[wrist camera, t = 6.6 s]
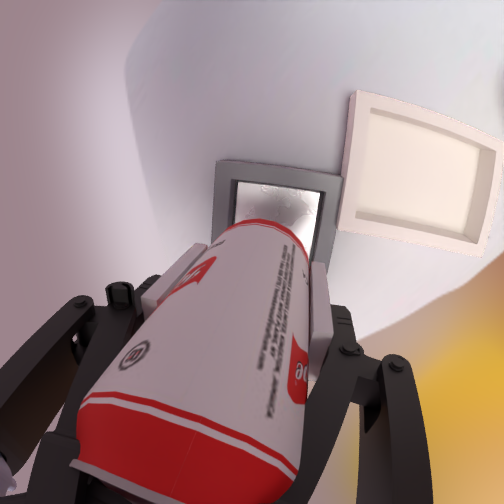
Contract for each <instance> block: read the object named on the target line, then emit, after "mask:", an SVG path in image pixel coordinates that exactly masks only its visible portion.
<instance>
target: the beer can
mask: <svg viewBox="0 0 504 504" xmlns="http://www.w3.org/2000/svg"><path fill="white" fill-rule="evenodd" d="M308 369H309V261H308V255H307V253H306V251H305V248H304V246H303V244H302V242H301V241H300V240H299V238H298V237H297V236H296V235H295V234H294V233H293V232H292V231H291V230H290V229H288V228H286V227H285V226H283V225H281V224H279V223H277V222H275V221H270V220H266V219H261V218H258V219H248V220H243V221H240V222H238V223H236V224H234V225H232V226H230V227H228V228H227V229H226V230H225V231H224V232H223V233H222V234H221V235H220V236H219V237H218V238H217V239H216V240H215V241H214V242H213V243H212V245H211V246H210V247H209V248H208V249H207V250H206V251H205V252H204V254H203V255H202V256H201V257H200V258H199V259H198V260H197V262H196V263H195V264H194V265H193V266H192V267H191V268H190V270H189V271H188V272H187V273H186V274H185V275H184V276H183V278H182V279H181V280H180V281H179V282H178V283H177V284H176V286H175V287H174V288H173V289H172V290H171V291H170V293H169V294H168V295H167V296H166V297H165V299H164V300H163V301H162V302H161V303H160V304H159V306H158V307H157V308H156V309H155V310H154V312H153V313H152V314H151V315H150V316H149V318H148V319H147V320H146V321H145V322H144V324H143V325H142V326H141V327H140V328H139V330H138V331H137V332H136V333H135V334H134V336H133V337H132V338H131V339H130V341H129V342H128V343H127V344H126V345H125V347H124V348H123V349H122V350H121V352H120V353H119V354H118V355H117V357H116V358H115V359H114V360H113V362H112V363H111V364H110V365H109V367H108V368H107V369H106V370H105V372H104V373H103V374H102V375H101V377H100V378H99V379H98V381H97V382H96V383H95V384H94V386H93V387H92V388H91V390H90V391H89V392H88V393H87V395H86V396H85V398H84V399H83V401H82V403H81V406H80V408H79V411H78V414H77V427H76V439H78V440H79V442H80V455H79V457H78V460H77V459H73V460H72V462H71V463H70V465H69V466H70V467H73V468H76V469H78V470H80V471H82V472H85V473H87V474H90V475H92V476H94V477H96V478H98V479H99V480H100V481H101V482H102V483H103V484H104V485H105V486H106V487H107V488H108V489H110V490H112V491H114V492H116V493H118V494H120V495H122V496H123V497H124V498H126V499H127V500H128V501H130V502H131V503H133V504H270V503H273V502H275V501H276V500H278V499H279V498H280V497H281V496H282V495H283V494H284V493H285V492H286V491H287V490H288V489H289V488H290V487H291V485H292V483H293V481H294V479H295V477H296V475H297V473H298V470H299V466H300V457H301V447H302V436H303V423H304V410H305V403H306V401H307V392H308Z"/></svg>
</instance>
